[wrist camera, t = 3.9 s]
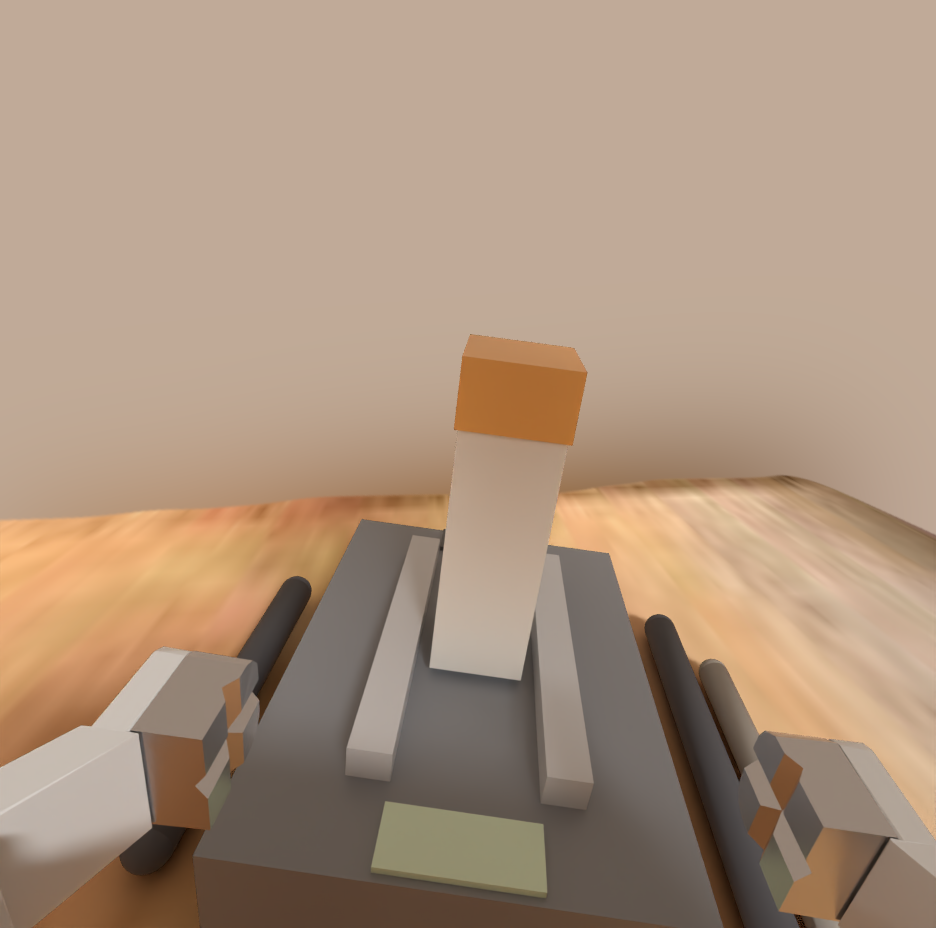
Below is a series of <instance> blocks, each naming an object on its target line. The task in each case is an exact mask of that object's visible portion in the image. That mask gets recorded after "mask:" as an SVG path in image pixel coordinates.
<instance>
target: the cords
mask: <svg viewBox="0 0 936 928" xmlns="http://www.w3.org/2000/svg"><path fill="white" fill-rule="evenodd" d="M310 596H311V585H310V583H309V582H308V581H307V580H306V579H305V578H303V577H299V576H295V577H291V578H289V579H287V580H286V581H285V582H284V583H283V585H282V587H281V588H280V590H279V591H278V593H277V595H276V596H275V598H274V599H273V601H272V602H271V604H270V606H269V607H268V609H267V610H266V612H265V614H264V615H263V617H262V618H261V620H260V621H259V623H258V625H257V626H256V628H255V629H254V631H253V633H252V634H251V636H250V637H249V639H248V640H247V642H246V644H245V645H244V647H243V648H242V650H241V652H240V653H239V655H238V656H237V658H240V659H246V660H252V661H254V662H256V663H257V666H258V679H259V680H258V681H257V683H256V685H255V687H254V689H253V691H252V692H253V693H254V695H255V696H256V697H257V695H258V693H259V691H260V690H261V688H262V686H263V684H264V682H265V680H266V678H267V676H268V675H269V673H270V671H271V669H272V667H273V665H274V663H275V662H276V660H277V658H278V656H279V654H280V652H281V650H282V649H283V647H284V645H285V643H286V641H287V639H288V637H289V635H290V634H291V632H292V630H293V628H294V626H295V624H296V622H297V621H298V619H299V617H300V615H301V613H302V611H303V609H304V607H305V606H306V604H307V602H308V600H309V598H310ZM645 633H646V636H647V639H648V642H649V645H650V648H651V651H652V654H653V657H654V660H655V663H656V666H657V669H658V672H659V675H660V678H661V681H662V684H663V687H664V690H665V693H666V696H667V699H668V702H669V705H670V708H671V710H672V713H673V716H674V719H675V722H676V725H677V728H678V731H679V734H680V737H681V740H682V743H683V746H684V749H685V752H686V755H687V758H688V761H689V764H690V767H691V770H692V773H693V776H694V779H695V782H696V785H697V788H698V791H699V794H700V797H701V800H702V803H703V806H704V809H705V812H706V815H707V818H708V821H709V823H710V826H711V829H712V832H713V835H714V838H715V841H716V844H717V847H718V850H719V853H720V856H721V859H722V862H723V865H724V868H725V871H726V874H727V877H728V880H729V883H730V886H731V889H732V892H733V895H734V898H735V901H736V904H737V907H738V910H739V913H740V916H741V919H742V922H743V925H744V928H799V925H798V923H797V920H796V918H795V916H794V914H791V913H785V912H780V911H778V909H777V906H776V904H775V901H774V899H773V896H772V894H771V891H770V889H769V886H768V884H767V881H766V879H765V876H764V874H763V871H762V869H761V866H760V864H759V863H760V859H761V856H762V853H763V849H762V848H761V847H760V846H759V845H758V844H757V843H756V841H755V840H754V839H753V838H752V837H751V836H750V835H749V834H748V833H747V831H746V828H745V825H744V823H743V820H742V817H741V813H740V808H739V803H738V789H739V781H738V778H737V776H736V773H735V771H734V768H733V766H732V764H731V761H730V759H729V756H728V754H727V752H726V749H725V747H724V744H723V742H722V740H721V737H720V735H719V732H718V730H717V728H716V725H715V723H714V720H713V718H712V715H711V713H710V711H709V708H708V706H707V703H706V701H705V699H704V696H703V694H702V691H701V689H700V687H699V684H698V682H697V679H696V677H695V674H694V672H693V670H692V667H691V665H690V662H689V660H688V658H687V655H686V653H685V650H684V648H683V646H682V643H681V641H680V638H679V636H678V633H677V631H676V629H675V626H674V624H673V622H672V621H671V620H670V619H669V618H668V617H667V616H664V615H661V614H657V615H653V616H651V617H650V618H648V620H647V621H646V623H645ZM699 676H700V679H701V681H702V683H703V686H704V688H705V691H706V693H707V695H708V698H709V700H710V702H711V705H712V707H713V709H714V712H715V714H716V716H717V719H718V721H719V724H720V726H721V728H722V731H723V733H724V735H725V738H726V740H727V742H728V745H729V747H730V749H731V752H732V754H733V757H734V759H735V761H736V764H737V766H738V768H739V771H740V773H741V775H742V773H743V770H744V768H745V767H747V766H748V765H750V764H751V763H753V762H754V761H756V760H758V758H757V756H756V753H755V751H754V749H753V747H754V744H755V742H756V740H757V738H758V736H759V734H758V732H757V730H756V728H755V726H754V724H753V722H752V720H751V717H750V715H749V713H748V711H747V709H746V707H745V705H744V703H743V701H742V699H741V697H740V695H739V693H738V691H737V689H736V687H735V685H734V683H733V681H732V679H731V677H730V675H729V673H728V671H727V669H726V667H725V666H724V665H723V664H722V663H721V662H720V661H718V660H715V659H708V660H705V661H704V662H702V664H701V665H700V667H699ZM185 829H186V828H185V827H176V826H167V825H158V824H152V828H151V829H150V830H149V831H148V832H147V833H145V834H144V835H143V836H142V837H141V838H139V839H138V840H137V841H136V842H135V843H133V844H132V845H131V846H130V847H129V848H127V849H126V850H125V851H124V852H123V853H121V854H120V855H119V856H120V861H121V863H122V866H123V867H124V868H125V869H126V870H127V871H128V872H130V873H131V874H135V875H146V874H150V873H152V872H154V871H157V870H158V869H159V868H161V867H162V866H163V865H164V864H165V863H166V862H167V861H168V860H169V858H170V857H171V855H172V854H173V852H174V850H175V848H176V846H177V844H178V842H179V841H180V839H181V837H182V835H183V833H184V831H185ZM801 917H802V919H803V922H804V924H805V926H806V928H840V927H839V926H838V923H839V922H837V921H832V920H826V919H820V918H814V917H809V916H803V915H801Z"/></svg>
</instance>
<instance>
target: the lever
mask: <svg viewBox="0 0 936 928" xmlns="http://www.w3.org/2000/svg"><path fill="white" fill-rule="evenodd" d="M586 377H587V371H586V369H585V367H584V365H583V364H582V362H581V360H580V358H579V356H578V354H577V353H576V351H575V349H574V348H571V347H563V346H556V345H547V344H540V343H533V342H525V341H518V340H510V339H503V338H495V337H488V336H480V335H472V334H470V336H469V339H468V342H467V345H466V347H465V350H464V353H463V356H462V365H461V373H460V382H459V390H458V399H457V407H456V416H455V424H454V430H458V432H457V440H456V449H455V458H454V465H453V474H452V482H451V490H450V499H449V507H448V516H447V524H446V532H445V541H444V549H443V557H442V566H441V574H440V582H439V591H438V599H437V608H436V616H435V624H434V633H433V641H432V649H431V658H430V666H429V668H435V669H442V670H449V671H457V672H464V673H471V674H478V675H485V676H492V677H499V678H506V679H513V680H520V681H521V676H522V671H523V666H524V661H525V656H526V651H527V646H528V641H529V637H530V632H531V627H532V622H533V617H534V612H535V607H536V602H537V597H538V592H539V587H540V582H541V577H542V572H543V567H544V562H545V557H546V552H547V547H548V542H549V537H550V532H551V527H552V523H553V518H554V513H555V508H556V503H557V498H558V493H559V488H560V482H561V478H562V472H563V467H564V463H565V458H566V453H567V448H568V445H571V446H572V445H573V441H574V436H575V430H576V426H577V420H578V416H579V411H580V406H581V401H582V396H583V391H584V387H585V382H586Z"/></svg>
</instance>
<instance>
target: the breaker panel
mask: <svg viewBox="0 0 936 928" xmlns="http://www.w3.org/2000/svg"><path fill="white" fill-rule="evenodd" d="M445 532H446V529H444V530H435V529H428V528H421V527H414V526H406V525H399V524H392V523H385V522H378V521H370V520H363V519H362V520H361V522H360V524H359V526H358V528H357V530H356V532H355V534H354V536H353V538H352V540H351V541H350V543H349V545H348V547H347V549H346V551H345V553H344V555H343V557H342V559H341V561H340V563H339V565H338V567H337V569H336V571H335V573H334V575H333V577H332V579H331V581H330V583H329V585H328V587H327V589H326V591H325V593H324V595H323V597H322V599H321V601H320V603H319V605H318V607H317V609H316V611H315V613H314V615H313V617H312V619H311V621H310V623H309V625H308V627H307V629H306V631H305V633H304V635H303V637H302V639H301V641H300V643H299V645H298V647H297V649H296V651H295V653H294V655H293V657H292V659H291V661H290V663H289V665H288V667H287V669H286V671H285V673H284V675H283V677H282V679H281V681H280V683H279V685H278V687H277V689H276V691H275V693H274V695H273V697H272V699H271V701H270V703H269V705H268V707H267V709H266V711H265V713H264V715H263V717H262V719H261V721H260V723H259V724H258V727H257V731H256V734H255V737H254V741H253V744H252V747H251V749H250V751H249V753H248V755H247V757H246V760H245V762H244V763H243V764H241V765H240V766H239V767H237V768H236V770H235V772H234V774H233V776H232V778H231V790H230V792H229V794H228V796H227V798H226V800H225V802H224V804H223V806H222V808H221V810H220V812H219V814H218V816H217V818H216V820H215V822H214V824H213V826H212V828H211V830H205V832H204V834H203V836H202V838H201V840H200V842H199V844H198V846H197V848H196V850H195V852H194V854H193V866H194V875H195V885H196V894H197V904H198V913H199V923H200V928H724V927H723V924H722V921H721V917H720V914H719V911H718V907H717V904H716V901H715V898H714V894H713V891H712V888H711V885H710V881H709V878H708V875H707V872H706V868H705V865H704V862H703V859H702V855H701V852H700V849H699V845H698V842H697V839H696V836H695V832H694V829H693V826H692V823H691V819H690V816H689V813H688V810H687V806H686V803H685V800H684V797H683V793H682V790H681V787H680V784H679V780H678V777H677V774H676V770H675V767H674V764H673V761H672V757H671V754H670V751H669V748H668V744H667V741H666V738H665V735H664V731H663V728H662V725H661V722H660V718H659V715H658V712H657V708H656V705H655V702H654V699H653V695H652V692H651V689H650V686H649V682H648V679H647V676H646V673H645V669H644V666H643V663H642V660H641V656H640V653H639V650H638V647H637V643H636V640H635V637H634V633H633V630H632V627H631V624H630V620H629V617H628V614H627V611H626V607H625V604H624V601H623V598H622V594H621V591H620V588H619V585H618V581H617V578H616V575H615V571H614V568H613V565H612V562H611V558H610V555H609V553H602V552H595V551H587V550H580V549H573V548H566V547H558V546H551V545H548V547H547V552H546V557H545V562H544V567H543V572H542V577H541V582H540V587H539V592H538V597H537V602H536V607H535V612H534V617H533V622H532V627H531V632H530V637H529V641H528V646H527V651H526V656H525V661H524V666H523V671H522V676H521V681H520V680H513V679H506V678H499V677H492V676H485V675H478V674H471V673H464V672H457V671H449V670H442V669H435V668H429V666H430V658H431V649H432V641H433V633H434V624H435V616H436V608H437V599H438V591H439V582H440V574H441V566H442V557H443V549H444V541H445Z"/></svg>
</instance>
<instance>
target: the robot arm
mask: <svg viewBox="0 0 936 928" xmlns="http://www.w3.org/2000/svg"><path fill="white" fill-rule="evenodd" d="M258 680H259V679H258V666H257V663H256V662H254V661H252V660H246V659H240V658H234V657H228V656H222V655H216V654H210V653H204V652H198V651H187V650H181V649H175V648H169V647H164V646H163V647H162V648H160V649H158V650H156V651H154V652H153V653H152V654H151V656H150V657H149V658H148V659H147V660H146V661H145V663H144V664H143V665H142V666H141V667H140V669H139V670H138V671H137V672H136V673H135V675H134V676H133V677H132V678H131V679H130V681H129V682H128V683H127V684H126V685H125V687H124V688H123V689H122V690H121V691H120V693H119V694H118V695H117V696H116V697H115V699H114V700H113V701H112V702H111V703H110V704H109V706H108V707H107V708H106V709H105V710H104V712H103V713H102V714H101V715H100V716H99V718H98V719H97V720H96V721H95V722H94V724H93V725H92V726H83V725H81V726H79V727H77V728H75V729H73V730H71V731H69V732H67V733H65V734H63V735H62V736H60V737H58V738H56V739H54V740H52V741H50V742H48V743H46V744H44V745H42V746H40V747H39V748H37V749H35V750H33V751H31V752H29V753H27V754H25V755H23V756H21V757H19V758H17V759H15V760H14V761H12V762H10V763H8V764H6V765H4V766H2V767H0V928H32V927H34V926H35V925H36V924H37V923H38V922H40V921H41V920H42V919H43V918H44V917H46V916H47V915H48V914H49V913H50V912H52V911H53V910H54V909H55V908H56V907H58V906H59V905H60V904H61V903H62V902H64V901H65V900H66V899H67V898H68V897H70V896H71V895H72V894H73V893H74V892H76V891H77V890H78V889H79V888H80V887H82V886H83V885H84V884H85V883H86V882H88V881H89V880H90V879H91V878H93V877H94V876H95V875H96V874H97V873H99V872H100V871H101V870H102V869H103V868H105V867H106V866H107V865H108V864H109V863H111V862H112V861H113V860H114V859H115V858H117V857H118V856H119V855H120V854H121V853H123V852H124V851H125V850H126V849H127V848H129V847H130V846H131V845H132V844H133V843H135V842H136V841H137V840H138V839H139V838H141V837H142V836H143V835H144V834H145V833H147V832H148V831H149V830H150V829H151V828H152V824H158V825H167V826H176V827H185V828H194V829H203V830H211V828H212V826H213V824H214V822H215V820H216V818H217V816H218V814H219V812H220V810H221V808H222V806H223V804H224V802H225V800H226V798H227V796H228V794H229V792H230V790H231V775H230V772H231V771H233V770H234V769H236V768H237V767H239V766H240V765H241V764H243V763H244V762H245V760H246V757H247V755H248V753H249V751H250V749H251V747H252V744H253V741H254V737H255V734H256V731H257V727H258V720H259V713H260V709H259V700H258V698H257V697H256V696H255V695H254V693H253V692H252V691H253V689H254V687H255V685H256V683H257V681H258ZM753 749H754V751H755V753H756V756H757V758H758V760H756V761H754V762H753V763H751V764H750V765H748V766H747V767H745V768H744V770H743V773H742V776H741V778H740V781H739V789H738V803H739V808H740V813H741V817H742V820H743V823H744V825H745V828H746V831H747V833H748V834H749V835H750V836H751V837H752V838H753V839H754V840H755V841H756V843H757V844H758V845H759V846H760V847H761V848H762V849H763V853H762V856H761V859H760V863H759V864H760V866H761V869H762V871H763V874H764V876H765V879H766V881H767V884H768V886H769V889H770V891H771V894H772V896H773V899H774V901H775V904H776V906H777V909H778V911H780V912H785V913H791V914H797V915H803V916H809V917H814V918H820V919H826V920H832V921H837V922H839V923H838V926H839V927H840V928H936V840H935V839H934V838H933V836H932V835H931V833H930V832H929V830H928V829H927V828H926V826H925V825H924V823H923V822H922V820H921V819H920V818H919V816H918V815H917V813H916V812H915V810H914V809H913V808H912V806H911V805H910V803H909V802H908V800H907V799H906V798H905V796H904V795H903V793H902V792H901V790H900V789H899V788H898V786H897V785H896V783H895V782H894V780H893V779H892V778H891V776H890V775H889V773H888V772H887V770H886V769H885V768H884V766H883V765H882V763H881V762H880V760H879V759H878V758H877V756H876V755H875V753H874V752H873V751H872V750H871V749H870V748H869V747H867V746H866V745H865V744H863V743H858V742H850V741H842V740H834V739H828V740H827V739H825V738H818V737H810V736H802V735H794V734H786V733H778V732H771V731H764V732H763V733H762V734H760V735H759V736H758V738H757V740H756V742H755V744H754V747H753Z"/></svg>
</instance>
